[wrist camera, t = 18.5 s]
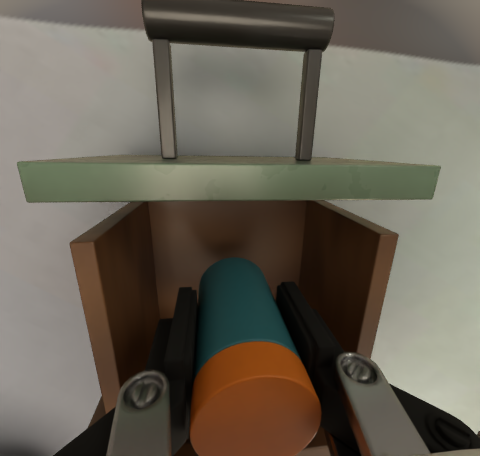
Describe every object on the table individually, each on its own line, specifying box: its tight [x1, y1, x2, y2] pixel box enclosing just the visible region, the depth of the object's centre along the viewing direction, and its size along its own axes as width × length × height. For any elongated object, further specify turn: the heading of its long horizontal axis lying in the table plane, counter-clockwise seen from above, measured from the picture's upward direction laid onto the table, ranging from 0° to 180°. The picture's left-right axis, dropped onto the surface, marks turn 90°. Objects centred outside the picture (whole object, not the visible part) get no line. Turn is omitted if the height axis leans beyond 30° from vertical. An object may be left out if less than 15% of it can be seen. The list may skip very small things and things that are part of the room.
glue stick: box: [189, 257, 322, 456], centre depth 10 cm, size 4×4×7 cm
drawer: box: [17, 0, 441, 443], centre depth 13 cm, size 20×14×9 cm
